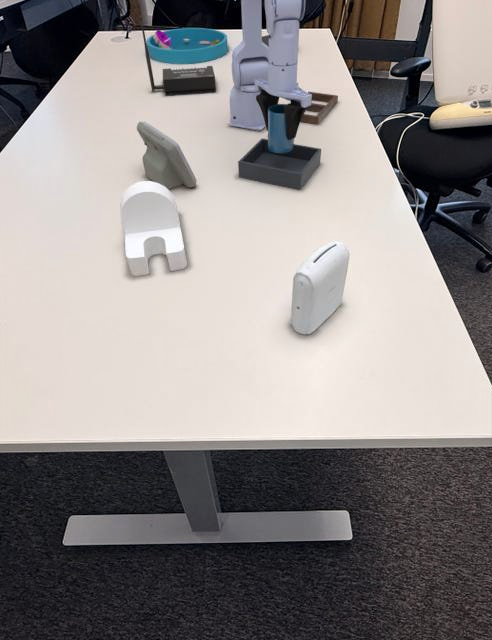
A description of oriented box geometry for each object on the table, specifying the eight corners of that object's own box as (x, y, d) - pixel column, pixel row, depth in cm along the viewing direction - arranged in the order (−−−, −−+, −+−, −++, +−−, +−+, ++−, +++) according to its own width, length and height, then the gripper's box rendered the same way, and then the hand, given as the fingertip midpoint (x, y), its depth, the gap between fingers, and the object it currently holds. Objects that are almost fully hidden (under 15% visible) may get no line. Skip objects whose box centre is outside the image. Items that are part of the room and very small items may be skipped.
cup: (262, 147, 98) (262, 109, 92) (280, 139, 100) (281, 101, 94) (280, 155, 95) (281, 116, 89) (298, 147, 97) (301, 108, 91)
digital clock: (199, 189, 96) (193, 140, 88) (161, 199, 94) (151, 149, 86) (176, 159, 106) (168, 112, 98) (140, 168, 104) (129, 120, 95)
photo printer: (308, 339, 66) (315, 276, 57) (286, 327, 68) (289, 263, 59) (344, 304, 71) (357, 240, 62) (323, 293, 73) (331, 229, 64)
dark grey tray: (238, 177, 100) (238, 161, 97) (261, 153, 107) (261, 138, 105) (300, 190, 96) (301, 174, 93) (320, 164, 103) (321, 148, 100)
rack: (286, 119, 121) (287, 112, 119) (308, 98, 131) (308, 91, 129) (318, 124, 118) (318, 117, 117) (337, 102, 128) (338, 95, 127)
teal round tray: (161, 39, 175) (158, 21, 170) (234, 40, 172) (233, 22, 167) (138, 62, 156) (134, 43, 151) (219, 64, 153) (218, 44, 148)
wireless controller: (212, 77, 144) (207, 12, 131) (216, 92, 135) (211, 24, 122) (152, 81, 143) (141, 16, 129) (151, 96, 134) (139, 28, 121)
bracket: (187, 268, 78) (177, 211, 69) (131, 276, 77) (113, 219, 68) (177, 213, 90) (168, 158, 82) (128, 219, 89) (113, 164, 80)
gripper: (324, 64, 83) (318, 138, 93) (271, 49, 90) (271, 119, 100) (299, 73, 80) (295, 148, 90) (246, 57, 87) (248, 128, 97)
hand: (281, 134), depth 95 cm, fingers closed on cup, 6 cm apart
